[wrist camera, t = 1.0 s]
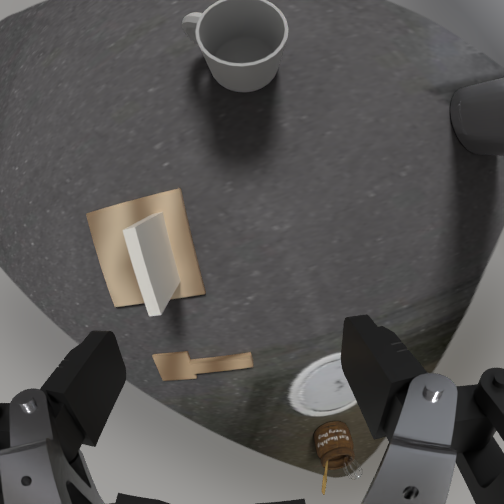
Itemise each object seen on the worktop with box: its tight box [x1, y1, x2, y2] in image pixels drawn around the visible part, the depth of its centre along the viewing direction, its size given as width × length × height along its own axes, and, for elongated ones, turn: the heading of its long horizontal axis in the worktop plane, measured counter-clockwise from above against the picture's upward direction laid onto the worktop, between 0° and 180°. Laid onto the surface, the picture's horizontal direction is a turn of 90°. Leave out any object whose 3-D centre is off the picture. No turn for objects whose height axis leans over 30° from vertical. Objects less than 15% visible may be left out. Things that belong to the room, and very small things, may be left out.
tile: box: [123, 212, 180, 316], centre depth 27 cm, size 1×8×8 cm, turn 11°
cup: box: [182, 0, 288, 92], centre depth 22 cm, size 7×10×9 cm
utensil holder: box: [314, 421, 359, 495], centre depth 35 cm, size 6×6×12 cm
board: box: [86, 188, 206, 307], centre depth 32 cm, size 12×12×1 cm
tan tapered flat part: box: [153, 351, 253, 381], centre depth 36 cm, size 13×4×1 cm, turn 101°
